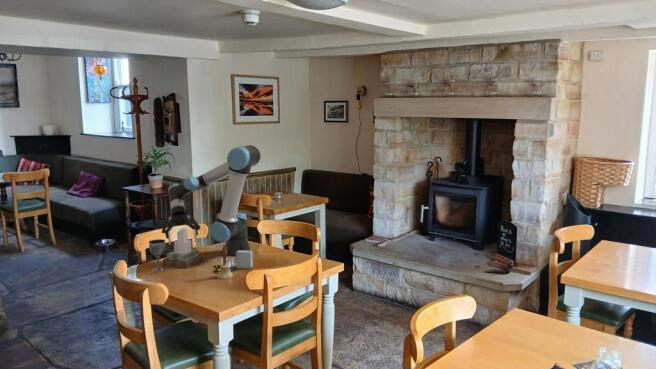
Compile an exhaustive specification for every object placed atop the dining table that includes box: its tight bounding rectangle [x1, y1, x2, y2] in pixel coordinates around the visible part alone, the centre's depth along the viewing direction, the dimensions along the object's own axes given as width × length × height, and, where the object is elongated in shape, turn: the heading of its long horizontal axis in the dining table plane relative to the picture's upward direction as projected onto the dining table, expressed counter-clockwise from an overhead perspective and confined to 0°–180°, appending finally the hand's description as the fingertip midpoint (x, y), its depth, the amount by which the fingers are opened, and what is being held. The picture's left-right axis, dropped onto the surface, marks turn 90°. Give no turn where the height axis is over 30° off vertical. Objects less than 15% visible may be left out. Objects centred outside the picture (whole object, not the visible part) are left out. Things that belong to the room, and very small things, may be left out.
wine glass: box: [148, 238, 166, 272], centre depth 262 cm, size 8×8×15 cm
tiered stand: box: [162, 249, 204, 269], centre depth 274 cm, size 15×15×6 cm
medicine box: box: [235, 250, 254, 270], centre depth 266 cm, size 8×4×9 cm, turn 84°
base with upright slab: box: [173, 227, 192, 254], centre depth 273 cm, size 9×9×12 cm
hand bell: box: [216, 244, 234, 280], centre depth 252 cm, size 8×8×16 cm
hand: (183, 241), depth 271 cm, fingers open, 13 cm apart
